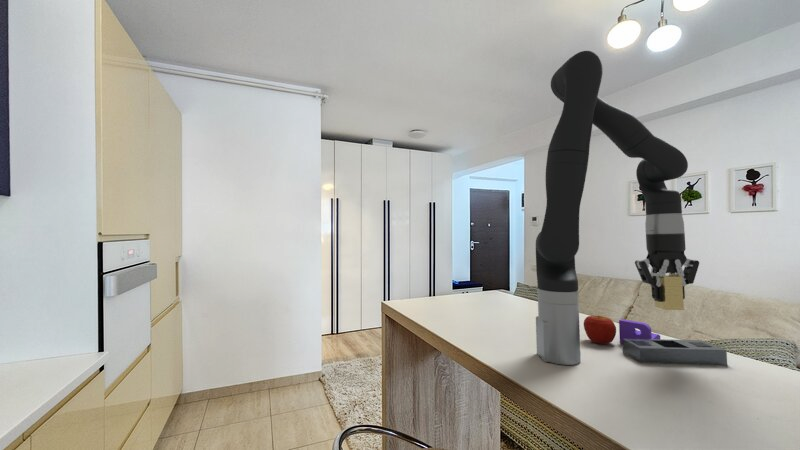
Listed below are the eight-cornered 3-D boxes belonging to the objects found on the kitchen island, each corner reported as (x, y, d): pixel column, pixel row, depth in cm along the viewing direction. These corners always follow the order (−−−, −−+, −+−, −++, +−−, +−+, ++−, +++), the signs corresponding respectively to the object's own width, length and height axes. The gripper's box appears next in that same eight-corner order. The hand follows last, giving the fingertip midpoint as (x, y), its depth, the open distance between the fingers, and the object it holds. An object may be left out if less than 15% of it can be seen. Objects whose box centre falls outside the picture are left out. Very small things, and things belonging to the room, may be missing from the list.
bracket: (650, 351, 85) (649, 325, 85) (619, 344, 90) (619, 320, 90) (660, 341, 92) (659, 317, 93) (632, 335, 98) (631, 313, 98)
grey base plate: (640, 362, 76) (639, 347, 76) (622, 352, 83) (622, 338, 83) (727, 365, 74) (726, 349, 74) (702, 354, 81) (701, 339, 81)
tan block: (665, 309, 77) (664, 276, 78) (654, 306, 81) (652, 274, 82) (683, 309, 77) (681, 276, 77) (671, 306, 81) (669, 274, 81)
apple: (610, 349, 85) (609, 320, 86) (579, 342, 92) (578, 314, 92) (620, 343, 90) (619, 315, 91) (590, 336, 96) (589, 310, 97)
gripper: (643, 232, 77) (647, 304, 76) (708, 231, 75) (713, 304, 75) (625, 233, 84) (628, 298, 84) (683, 231, 83) (687, 298, 82)
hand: (668, 300), depth 79 cm, fingers closed on tan block, 4 cm apart
